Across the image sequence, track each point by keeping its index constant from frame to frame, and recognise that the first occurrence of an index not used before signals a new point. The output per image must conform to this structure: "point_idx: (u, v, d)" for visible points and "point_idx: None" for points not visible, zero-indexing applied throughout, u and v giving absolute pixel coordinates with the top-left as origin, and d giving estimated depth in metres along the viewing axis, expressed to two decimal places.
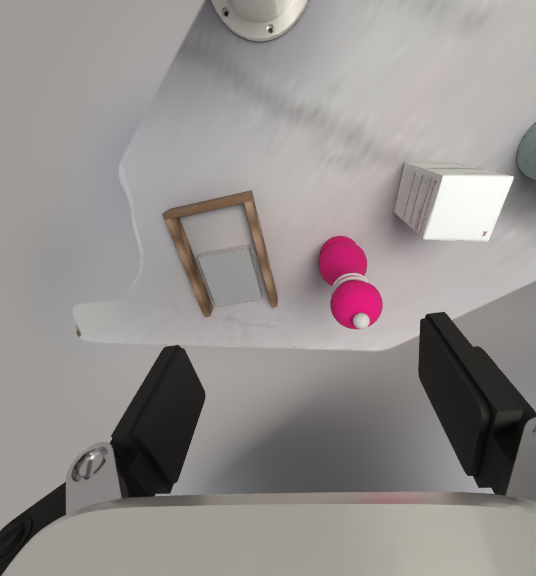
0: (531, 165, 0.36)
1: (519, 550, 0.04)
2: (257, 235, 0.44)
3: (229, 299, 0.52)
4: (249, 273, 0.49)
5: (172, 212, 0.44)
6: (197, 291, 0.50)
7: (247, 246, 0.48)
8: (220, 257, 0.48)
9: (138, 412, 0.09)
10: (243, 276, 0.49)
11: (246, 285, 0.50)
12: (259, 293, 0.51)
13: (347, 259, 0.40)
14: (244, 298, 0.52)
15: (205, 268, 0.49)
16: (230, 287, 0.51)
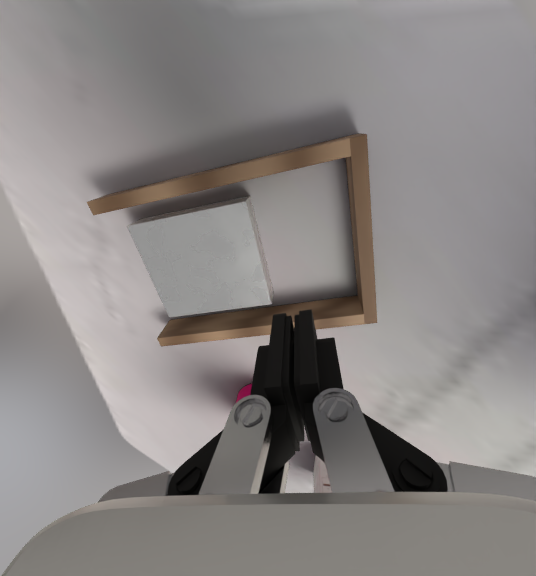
0: None
1: (519, 550, 0.04)
2: None
3: (151, 257, 0.24)
4: (221, 300, 0.25)
5: (366, 164, 0.18)
6: (157, 194, 0.20)
7: (272, 295, 0.26)
8: (249, 252, 0.23)
9: (281, 368, 0.09)
10: (212, 290, 0.25)
11: (193, 294, 0.25)
12: (180, 314, 0.26)
13: None
14: (161, 287, 0.25)
15: (221, 216, 0.21)
16: (183, 263, 0.24)
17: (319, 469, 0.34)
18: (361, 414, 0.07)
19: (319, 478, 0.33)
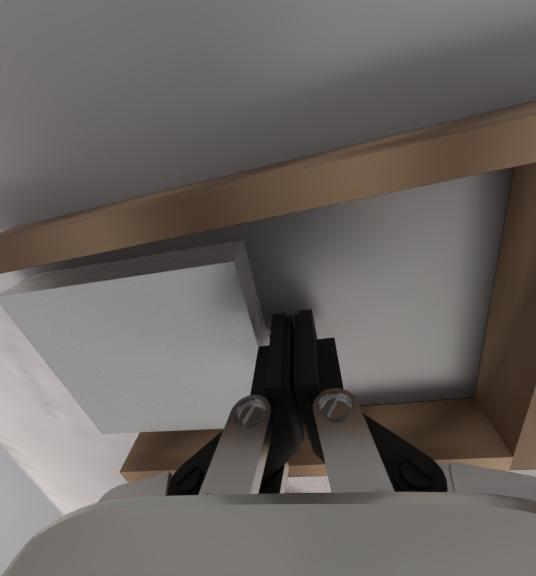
0: None
1: (519, 550, 0.04)
2: None
3: (55, 350, 0.13)
4: (190, 417, 0.14)
5: None
6: (88, 242, 0.09)
7: None
8: (241, 351, 0.12)
9: (281, 368, 0.09)
10: (172, 402, 0.14)
11: (140, 406, 0.14)
12: (120, 430, 0.15)
13: None
14: (81, 393, 0.14)
15: (183, 287, 0.10)
16: (115, 361, 0.13)
17: None
18: (361, 414, 0.07)
19: None
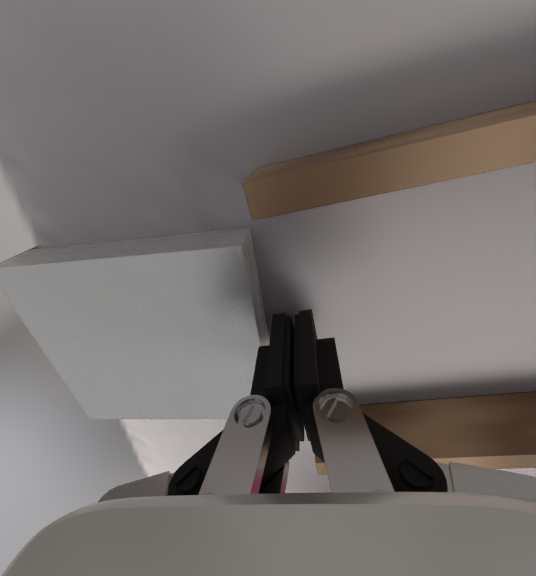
0: None
1: (519, 550, 0.04)
2: None
3: (46, 328, 0.12)
4: (182, 405, 0.14)
5: None
6: (478, 156, 0.07)
7: None
8: (241, 339, 0.11)
9: (282, 368, 0.09)
10: (166, 389, 0.13)
11: (131, 392, 0.14)
12: (109, 416, 0.15)
13: None
14: (71, 375, 0.14)
15: (187, 269, 0.10)
16: (110, 343, 0.12)
17: None
18: (361, 414, 0.07)
19: None
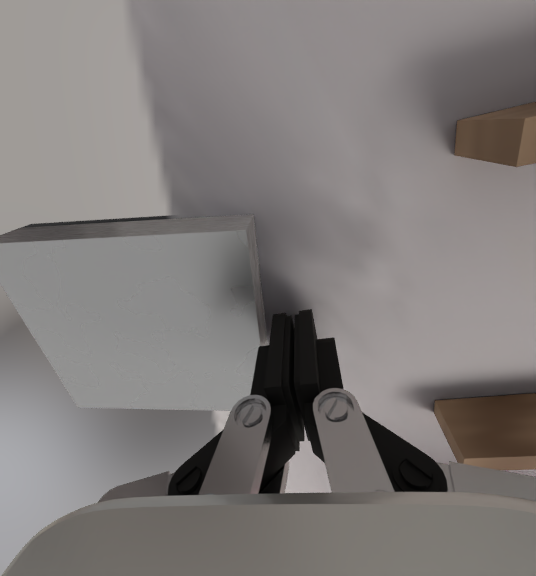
0: None
1: (519, 550, 0.04)
2: None
3: (36, 310, 0.12)
4: (175, 395, 0.14)
5: None
6: None
7: None
8: (239, 328, 0.11)
9: (282, 368, 0.09)
10: (159, 379, 0.13)
11: (123, 380, 0.13)
12: (98, 405, 0.14)
13: None
14: (60, 361, 0.13)
15: (188, 253, 0.10)
16: (103, 328, 0.12)
17: None
18: (361, 414, 0.07)
19: None
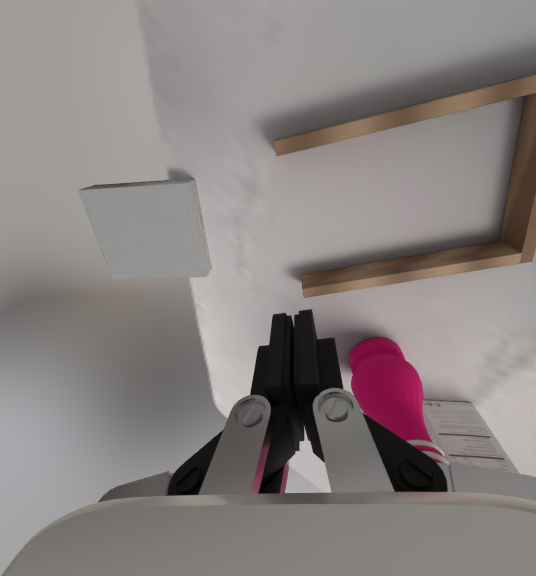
0: None
1: (519, 550, 0.04)
2: (454, 272, 0.26)
3: (100, 222, 0.26)
4: (162, 269, 0.28)
5: None
6: (351, 132, 0.21)
7: (209, 269, 0.29)
8: (189, 228, 0.26)
9: (282, 368, 0.09)
10: (154, 259, 0.28)
11: (137, 260, 0.28)
12: (124, 277, 0.29)
13: None
14: (107, 250, 0.28)
15: (166, 193, 0.25)
16: (129, 230, 0.27)
17: (428, 421, 0.35)
18: (361, 414, 0.07)
19: (431, 429, 0.35)
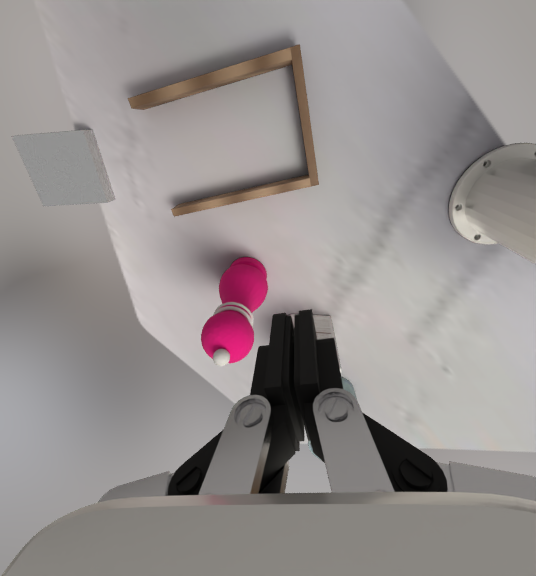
0: None
1: (519, 550, 0.04)
2: (270, 194, 0.37)
3: (28, 160, 0.38)
4: (76, 196, 0.40)
5: (301, 64, 0.30)
6: (174, 91, 0.32)
7: (111, 198, 0.41)
8: (89, 164, 0.38)
9: (281, 368, 0.09)
10: (69, 188, 0.39)
11: (57, 190, 0.40)
12: (50, 204, 0.41)
13: (257, 300, 0.39)
14: (36, 182, 0.39)
15: (69, 137, 0.36)
16: (49, 166, 0.38)
17: None
18: (361, 414, 0.07)
19: None
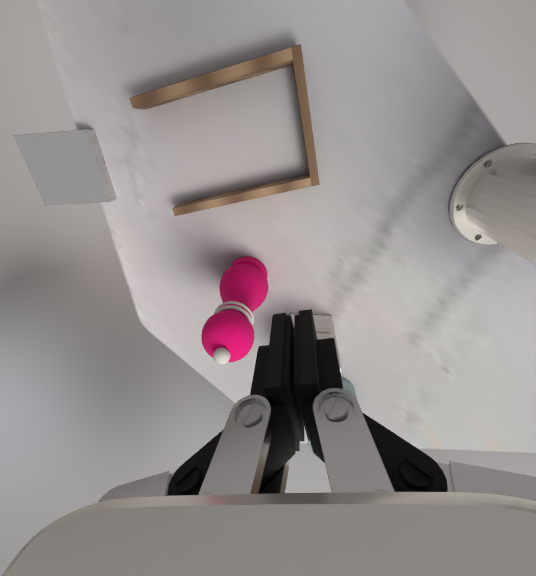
0: None
1: (519, 550, 0.04)
2: (270, 193, 0.37)
3: (30, 159, 0.38)
4: (77, 196, 0.40)
5: (301, 64, 0.30)
6: (175, 90, 0.32)
7: (112, 198, 0.41)
8: (91, 164, 0.38)
9: (281, 368, 0.09)
10: (71, 188, 0.40)
11: (59, 189, 0.40)
12: (52, 203, 0.41)
13: (257, 299, 0.39)
14: (38, 181, 0.40)
15: (71, 137, 0.36)
16: (51, 166, 0.38)
17: None
18: (361, 414, 0.07)
19: None
